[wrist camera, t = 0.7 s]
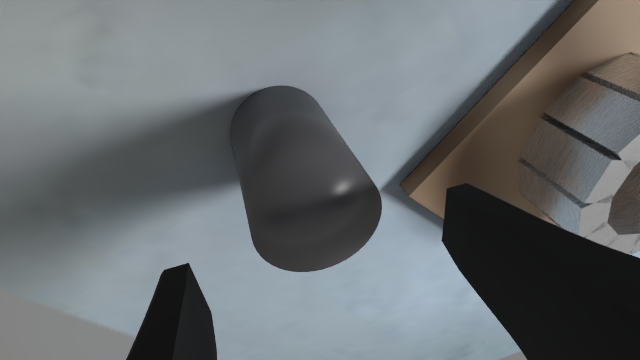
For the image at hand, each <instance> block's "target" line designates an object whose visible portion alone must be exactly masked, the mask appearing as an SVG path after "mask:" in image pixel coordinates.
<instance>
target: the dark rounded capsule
mask: <svg viewBox="0 0 640 360" xmlns="http://www.w3.org/2000/svg"><path fill="white" fill-rule="evenodd" d="M230 137H231V143H232V148H233V153H234V157H235V162H236V167H237V171H238V176H239V181H240V185H241V190H242V195H243V200H244V204H245V209H246V214H247V218H248V223H249V228H250V232H251V237H252V241H253V244H254V247H255V248H256V250H257V252H258V253H259V254H260V256H261V257H262V258H263V259H264V260H265V261H267V262H268V263H270V264H271V265H273V266H275V267H278V268H280V269H283V270H288V271H294V272H309V271H317V270H321V269H325V268H328V267H331V266H334V265H336V264H338V263H340V262H342V261H344V260H346V259H347V258H349V257H351V256H352V255H353V254H355V253H356V252H357V251H359V250H360V249H361V248H362V247H363V246H364V245H365V244H366V243H367V241H368V240H369V239H370V238H371V236H372V235H373V233H374V231H375V230H376V228H377V226H378V223H379V220H380V216H381V210H382V202H381V197H380V193H379V191H378V189H377V187H376V186H375V184H374V182H373V181H372V180H371V178H370V177H369V175H368V174H367V172H366V171H365V170H364V168H363V167H362V165H361V164H360V162H359V161H358V160H357V158H356V157H355V155H354V154H353V152H352V151H351V150H350V148H349V147H348V145H347V144H346V142H345V141H344V140H343V138H342V137H341V135H340V134H339V132H338V131H337V130H336V128H335V127H334V125H333V124H332V122H331V121H330V120H329V118H328V117H327V115H326V114H325V112H324V111H323V110H322V108H321V107H320V105H319V104H318V102H317V101H316V100H315V99H314V98H313V97H312V96H311V95H309V94H308V93H306V92H305V91H303V90H300V89H298V88H295V87H290V86H273V87H268V88H265V89H262V90H260V91H258V92H256V93H254V94H252V95H251V96H250V97H248V98H247V99H246V100H245V101H244V102H243V103H242V104H241V105H240V106H239V108H238V109H237V111H236V113H235V115H234V117H233V119H232V123H231V128H230Z"/></svg>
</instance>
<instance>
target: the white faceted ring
mask: <svg viewBox="0 0 640 360" xmlns="http://www.w3.org/2000/svg"><path fill="white" fill-rule="evenodd" d="M544 113H545V115H546V116H547V117H548V118H540V117H539V119H538V121H537V123H536V125H535V127H534V129H533V131H532V133H531V135H530V137H529V139H528V140H527V142H526V144H525V146H524V148H523V150H522V152H521V154H520V157H522V158H523V159H522V160H520V161H518V183H519V191H520V192H521V193H520V194H521V195H522V196H523V197H524V198H525V199H526V200H527V201H528V202H530V203H531V204H532V205H533V206H534V207H535V208H536V209H537V210H539V211H540V212H541V213H542V214H543V215H545V216H546V217H547V218H548V219H549V220H550V221H552V222H553V223H554V224H555V225H556V226H558V227H560V228H563V229H565V230H567V231H570V232H572V233H575V234H577V235H579V236H582V237H584V238H586V239H589V240H591V241H594V242H596V243H599V244H602V245H604V246H607V247H609V248H612V249H615V250H618V251H621V252H624V253H626V254H629V253H631V254H634V253H636V252H638V251H640V53H634V52H631V54H627V53H625V54H623V55H621V56H619V57H617V58H615V59H612V60H610V61H608V62H606V63H604V64H602V65H599V66H597V67H595V68H593V69H591V70H589V71H587V72H585V78H583V77H580V76H579V77H578V78H577V79H576V80H575V81H574V82H573V83H572V84H571V85H570V86H569V87H568V88H567V89H566V90H565V91H564V92H563V93H562V94H561V95H560V96H559V97H558V98H557V99H556V100H555V101H554V102H553V103H552V104H551V105H550V106H549V107H548V108H547V109H546V110H545V111H544Z"/></svg>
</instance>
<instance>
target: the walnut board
mask: <svg viewBox="0 0 640 360" xmlns="http://www.w3.org/2000/svg"><path fill="white" fill-rule="evenodd" d="M631 52H634V53H640V0H575V1H574V2H573V3H572V4H571V5H570V6H569V7H568V8H567V9H566V10H565V11H564V12H563V13H562V14H561V16H560V17H559V18H558V19H557V20H556V21H555V22H554V23H553V24H552V25H551V26H550V27H549V28H548V29H547V30H546V31H545V32H544V33H543V35H542V36H541V37H540V38H539V39H538V40H537V41H536V42H535V43H534V44H533V45H532V46H531V47H530V48H529V49H528V50H527V51H526V52H525V54H524V55H523V56H522V57H521V58H520V59H519V60H518V61H517V62H516V63H515V64H514V65H513V66H512V67H511V68H510V69H509V70H508V71H507V72H506V74H505V75H504V76H503V77H502V78H501V79H500V80H499V81H498V82H497V83H496V84H495V85H494V86H493V87H492V88H491V89H490V90H489V91H488V93H487V94H486V95H485V96H484V97H483V98H482V99H481V100H480V101H479V102H478V103H477V104H476V105H475V106H474V107H473V108H472V109H471V110H470V111H469V113H468V114H467V115H466V116H465V117H464V118H463V119H462V120H461V121H460V122H459V123H458V124H457V125H456V126H455V127H454V128H453V129H452V130H451V132H450V133H449V134H448V135H447V136H446V137H445V138H444V139H443V140H442V141H441V142H440V143H439V144H438V145H437V146H436V147H435V148H434V149H433V150H432V152H431V153H430V154H429V155H428V156H427V157H426V158H425V159H424V160H423V161H422V162H421V163H420V164H419V165H418V166H417V167H416V168H415V169H414V171H413V172H412V173H411V174H410V175H409V176H408V177H407V178H406V179H405V180H404V181H403V182H402V183H401V184H400V186H401V187H402V188H403V190H404V191H405V192H406V193H407V195H408V196H409V197H411V198H412V199H414V200H415V201H417V202H418V203H420V204H421V205H423V206H424V207H426V208H427V209H429V210H430V211H432V212H433V213H435V214H436V215H438V216H439V217H441V218H442V219H444V213H445V202H446V191H447V188H450V187H454V186H457V185H461V184H464V183H468V184H470V185H472V186H474V187H477V188H479V189H481V190H483V191H485V192H487V193H489V194H491V195H493V196H495V197H497V198H499V199H501V200H503V201H505V202H507V203H509V204H511V205H513V206H516V207H518V208H520V209H522V210H524V211H526V212H528V213H530V214H532V215H534V216H536V217H538V218H541V219H543V220H545V221H547V222H549V223H552V224H554V223H553V222H552V221H550V220H549V219H548V218H547V217H546V216H545V215H543V214H542V213H541V212H540V211H539V210H537V209H536V208H535V207H534V206H533V205H532V204H531V203H530V202H528V201H527V200H526V199H525V198H524V197H523V196H522V195H521V194H520V193H521V192H520V191H519V183H518V161H520V160H522V159H523V158H522V157H520V154H521V152H522V150H523V148H524V146H525V144H526V142H527V140H528V139H529V137H530V135H531V133H532V131H533V129H534V127H535V125H536V123H537V121H538V119H539V117H540V118H548V117H547V116H546V115H545V113H544V111H545V110H546V109H547V108H548V107H549V106H550V105H551V104H552V103H553V102H554V101H555V100H556V99H557V98H558V97H559V96H560V95H561V94H562V93H563V92H564V91H565V90H566V89H567V88H568V87H569V86H570V85H571V84H572V83H573V82H574V81H575V80H576V79H577V78H578V77H579V76H580V77H583V78H585V72H587V71H589V70H591V69H593V68H595V67H597V66H599V65H602V64H604V63H606V62H608V61H610V60H612V59H615V58H617V57H619V56H621V55H623V54H625V53H627V54H631ZM554 225H555V224H554Z"/></svg>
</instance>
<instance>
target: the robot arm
mask: <svg viewBox="0 0 640 360" xmlns="http://www.w3.org/2000/svg"><path fill="white" fill-rule="evenodd" d="M442 242H443V243H444V245H445V247H446V249H447V250H448V252H449V254H450V256H451V257H452V259H453V261H454V262H455V264H456V265H457V267H458V269H459V270H460V272H461V273H462V274H463V276H464V277H465V278H466V279H467V281H468V282H469V283H470V285H471V286H472V287H473V288H474V290H475V291H476V292H477V294H478V295H479V296H480V297H481V299H482V300H483V301H484V302H485V304H486V305H487V306H488V308H489V309H490V310H491V311H492V313H493V314H494V315H495V316H496V318H497V319H498V320H499V321H500V323H501V324H502V325H503V327H504V328H505V329H506V330H507V332H508V333H509V334H510V335H511V337H512V338H513V340H514V341H515V342H516V344H517V345H518V346H519V348H520V349H521V351H522V352H523V354H524V355H525V357H526V358H527V360H640V258H638V257H635V256H632V255H629V254H626V253H624V252H621V251H618V250H615V249H612V248H609V247H607V246H604V245H602V244H599V243H596V242H594V241H591V240H589V239H586V238H584V237H582V236H579V235H577V234H575V233H572V232H570V231H567V230H565V229H563V228H560V227H558V226H556V225H554V224H552V223H549V222H547V221H545V220H543V219H541V218H538V217H536V216H534V215H532V214H530V213H528V212H526V211H524V210H522V209H520V208H518V207H516V206H513V205H511V204H509V203H507V202H505V201H503V200H501V199H499V198H497V197H495V196H493V195H491V194H489V193H487V192H485V191H483V190H481V189H479V188H477V187H474V186H472V185H470V184H468V183H464V184H461V185H457V186H454V187H450V188H447V191H446V202H445V213H444V224H443V234H442ZM126 360H217V349H216V342H215V334H214V327H213V321H212V314H211V311H210V309H209V306H208V304H207V302H206V300H205V298H204V295H203V293H202V291H201V289H200V287H199V285H198V282H197V280H196V278H195V276H194V274H193V271H192V269H191V267H190V265H189V263H187V264H183V265H180V266H176V267H173V268H169V269H166V270H164V271H163V272H162V274H161V276H160V279H159V282H158V284H157V287H156V290H155V293H154V295H153V298H152V300H151V303H150V306H149V308H148V311H147V313H146V315H145V318H144V320H143V323H142V325H141V327H140V330H139V332H138V334H137V337H136V339H135V341H134V343H133V346H132V348H131V350H130V353H129V355H128V357H127V359H126Z"/></svg>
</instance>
